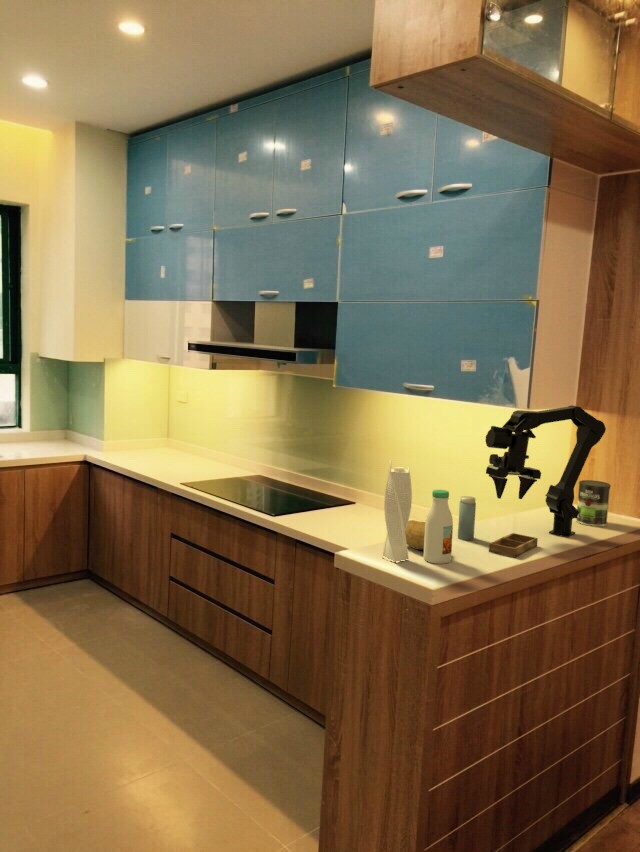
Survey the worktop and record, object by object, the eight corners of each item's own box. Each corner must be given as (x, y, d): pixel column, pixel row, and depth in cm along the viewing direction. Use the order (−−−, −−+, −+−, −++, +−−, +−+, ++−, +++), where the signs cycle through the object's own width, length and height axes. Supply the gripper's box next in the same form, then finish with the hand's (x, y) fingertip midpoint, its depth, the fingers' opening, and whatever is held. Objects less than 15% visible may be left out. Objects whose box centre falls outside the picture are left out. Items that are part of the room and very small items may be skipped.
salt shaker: (462, 535, 229) (464, 495, 228) (476, 538, 226) (479, 498, 224) (454, 538, 225) (457, 497, 224) (469, 541, 222) (471, 500, 221)
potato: (414, 540, 222) (415, 514, 221) (446, 552, 211) (448, 525, 210) (390, 544, 217) (391, 518, 216) (422, 557, 205) (423, 529, 204)
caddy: (512, 540, 224) (512, 532, 224) (537, 546, 219) (537, 538, 219) (488, 551, 212) (489, 543, 212) (514, 557, 207) (515, 549, 207)
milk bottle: (432, 565, 198) (436, 494, 195) (418, 557, 205) (421, 488, 202) (456, 563, 201) (460, 493, 198) (441, 554, 208) (444, 487, 205)
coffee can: (601, 528, 243) (604, 487, 241) (571, 522, 250) (574, 482, 248) (611, 522, 251) (615, 483, 249) (582, 517, 257) (585, 478, 256)
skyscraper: (375, 558, 203) (379, 460, 199) (393, 553, 208) (398, 458, 204) (395, 565, 197) (400, 465, 193) (414, 560, 202) (418, 462, 198)
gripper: (520, 447, 238) (512, 493, 240) (478, 444, 229) (470, 492, 230) (545, 453, 229) (537, 501, 230) (502, 450, 219) (494, 500, 221)
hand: (509, 498), depth 228 cm, fingers open, 9 cm apart
